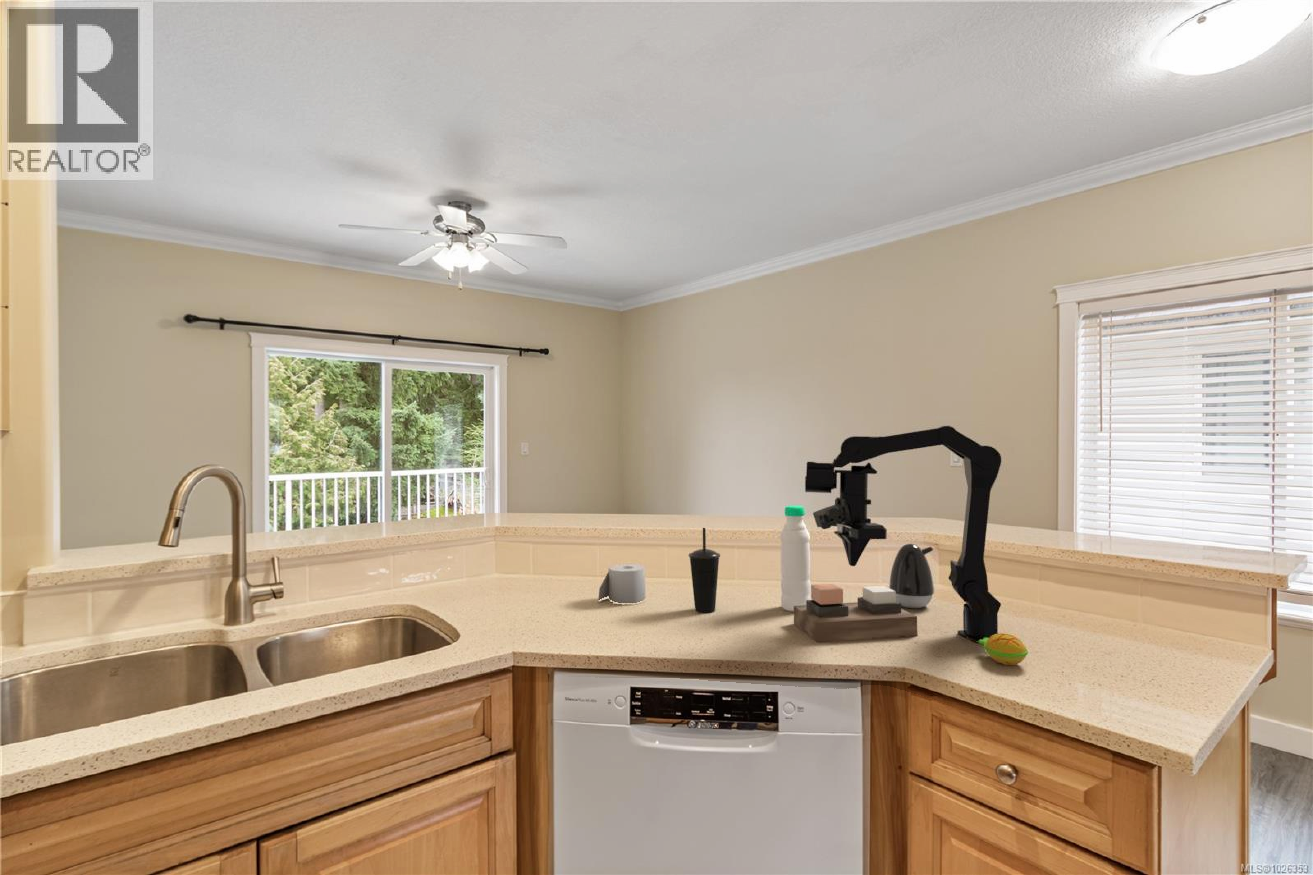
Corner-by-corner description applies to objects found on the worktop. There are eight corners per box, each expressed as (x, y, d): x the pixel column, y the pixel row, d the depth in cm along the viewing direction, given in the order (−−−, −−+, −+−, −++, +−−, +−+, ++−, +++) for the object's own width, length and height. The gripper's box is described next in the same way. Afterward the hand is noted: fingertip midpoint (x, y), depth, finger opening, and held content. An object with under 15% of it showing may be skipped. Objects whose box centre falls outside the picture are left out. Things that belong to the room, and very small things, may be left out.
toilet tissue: (590, 603, 160) (589, 570, 160) (629, 594, 169) (629, 562, 169) (612, 610, 153) (612, 575, 153) (652, 600, 162) (652, 567, 162)
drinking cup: (720, 606, 155) (719, 525, 155) (720, 615, 148) (719, 530, 148) (690, 605, 156) (689, 525, 156) (688, 614, 148) (687, 530, 148)
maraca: (995, 671, 111) (995, 640, 111) (972, 652, 121) (971, 624, 121) (1036, 671, 110) (1036, 641, 110) (1009, 652, 120) (1008, 624, 120)
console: (917, 635, 131) (916, 606, 131) (817, 642, 127) (817, 612, 127) (885, 618, 143) (884, 591, 143) (793, 623, 140) (793, 596, 140)
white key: (895, 605, 134) (895, 591, 134) (873, 606, 133) (873, 592, 133) (883, 599, 139) (883, 585, 139) (862, 600, 138) (862, 586, 138)
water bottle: (811, 613, 148) (810, 507, 148) (781, 612, 149) (779, 507, 149) (810, 605, 155) (808, 504, 155) (781, 604, 156) (780, 504, 156)
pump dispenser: (942, 611, 148) (941, 547, 149) (898, 611, 149) (897, 547, 149) (924, 600, 159) (923, 540, 159) (883, 600, 159) (882, 540, 159)
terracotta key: (843, 603, 132) (842, 589, 132) (820, 604, 132) (820, 590, 132) (832, 597, 137) (832, 583, 137) (811, 598, 136) (811, 584, 136)
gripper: (802, 490, 144) (801, 557, 144) (836, 498, 125) (835, 576, 125) (847, 490, 145) (846, 557, 145) (888, 498, 127) (887, 575, 127)
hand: (852, 565), depth 136 cm, fingers closed
